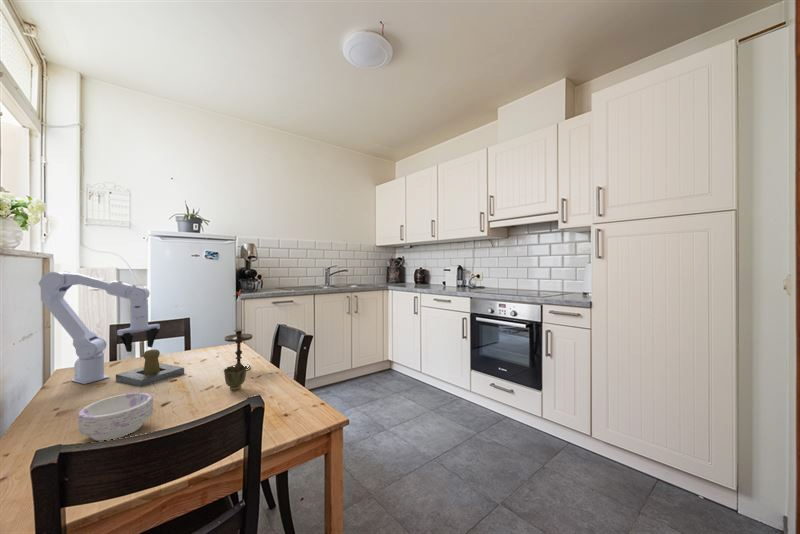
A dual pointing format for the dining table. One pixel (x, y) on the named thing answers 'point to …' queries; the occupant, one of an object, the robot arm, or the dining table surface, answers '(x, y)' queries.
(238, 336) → the candlestick
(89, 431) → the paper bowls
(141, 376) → the plate
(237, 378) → the cup
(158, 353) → the olive tapered cylinder
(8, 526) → the dining table surface
